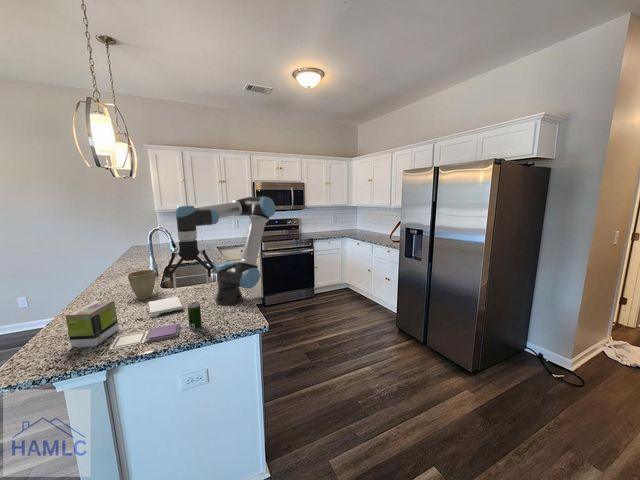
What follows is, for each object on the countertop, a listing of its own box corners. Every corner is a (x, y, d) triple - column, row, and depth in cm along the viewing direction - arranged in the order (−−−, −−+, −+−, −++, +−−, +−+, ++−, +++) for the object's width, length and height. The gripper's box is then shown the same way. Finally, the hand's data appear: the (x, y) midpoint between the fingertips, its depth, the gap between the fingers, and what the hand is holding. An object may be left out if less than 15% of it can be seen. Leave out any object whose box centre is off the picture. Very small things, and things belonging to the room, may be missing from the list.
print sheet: (148, 331, 125) (148, 330, 125) (143, 343, 114) (143, 342, 114) (117, 336, 120) (117, 336, 120) (108, 350, 109) (108, 349, 109)
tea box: (97, 330, 126) (92, 300, 124) (119, 330, 126) (115, 299, 124) (69, 348, 111) (64, 314, 109) (95, 347, 112) (90, 313, 109)
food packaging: (148, 307, 155) (150, 318, 139) (148, 301, 155) (150, 312, 138) (178, 302, 163) (183, 312, 147) (177, 296, 163) (182, 306, 147)
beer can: (199, 330, 125) (197, 305, 123) (187, 330, 125) (185, 306, 123) (203, 325, 130) (201, 301, 128) (192, 325, 130) (190, 301, 128)
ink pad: (180, 325, 130) (179, 322, 130) (178, 336, 119) (177, 333, 119) (151, 330, 125) (150, 327, 125) (146, 342, 114) (146, 339, 114)
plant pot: (128, 297, 170) (125, 272, 167) (155, 291, 179) (153, 268, 177) (132, 303, 158) (128, 277, 156) (160, 297, 168) (158, 272, 166)
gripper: (154, 243, 113) (159, 292, 116) (217, 239, 123) (221, 284, 126) (157, 241, 120) (161, 287, 123) (217, 237, 129) (220, 280, 133)
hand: (191, 285), depth 124 cm, fingers open, 13 cm apart
